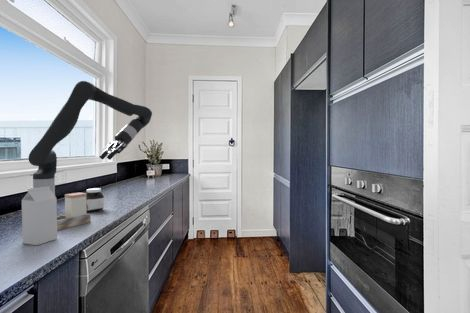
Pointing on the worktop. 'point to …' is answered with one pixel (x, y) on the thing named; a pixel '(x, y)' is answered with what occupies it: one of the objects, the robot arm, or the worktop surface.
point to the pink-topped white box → (75, 205)
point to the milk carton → (39, 216)
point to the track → (72, 221)
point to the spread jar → (94, 200)
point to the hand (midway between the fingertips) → (104, 158)
